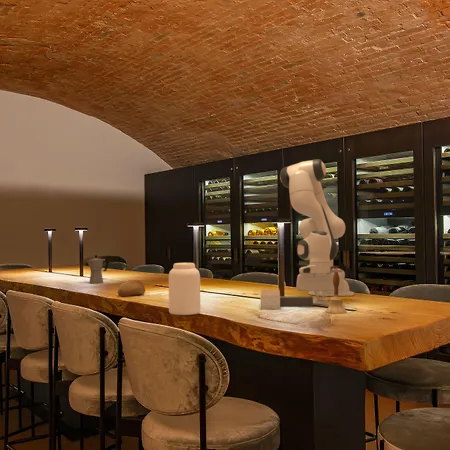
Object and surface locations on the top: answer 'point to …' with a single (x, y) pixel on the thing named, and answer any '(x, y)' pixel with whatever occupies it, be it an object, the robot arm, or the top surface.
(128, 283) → the bread roll
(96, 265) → the coffeepot
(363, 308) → the top surface
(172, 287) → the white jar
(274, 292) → the block
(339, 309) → the hand bell
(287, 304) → the plug bar
